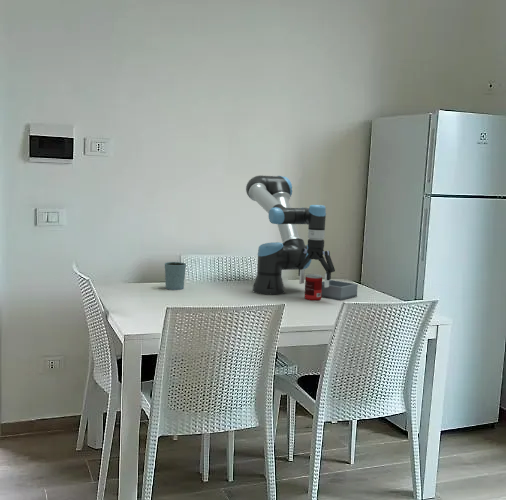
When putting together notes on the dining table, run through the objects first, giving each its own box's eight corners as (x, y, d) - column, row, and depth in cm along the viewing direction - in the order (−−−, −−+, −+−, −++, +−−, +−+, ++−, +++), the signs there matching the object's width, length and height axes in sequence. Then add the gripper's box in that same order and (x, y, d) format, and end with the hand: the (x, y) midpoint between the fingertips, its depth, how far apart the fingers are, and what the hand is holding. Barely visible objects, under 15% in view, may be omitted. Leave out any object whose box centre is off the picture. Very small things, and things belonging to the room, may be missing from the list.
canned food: (321, 298, 322) (322, 274, 320) (321, 301, 314) (322, 277, 312) (304, 296, 322) (305, 273, 321) (304, 300, 314) (305, 276, 313)
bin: (314, 295, 327) (314, 283, 326) (330, 291, 338) (331, 279, 337) (340, 300, 318) (341, 287, 317) (356, 296, 329) (357, 284, 328)
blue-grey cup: (182, 286, 336) (183, 261, 334) (187, 290, 326) (188, 265, 325) (162, 286, 332) (162, 261, 331) (166, 290, 323) (167, 265, 321)
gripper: (288, 237, 319) (286, 282, 321) (335, 241, 304) (332, 289, 306) (298, 236, 325) (296, 281, 327) (344, 241, 310) (341, 287, 312)
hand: (313, 285), depth 317 cm, fingers open, 13 cm apart
